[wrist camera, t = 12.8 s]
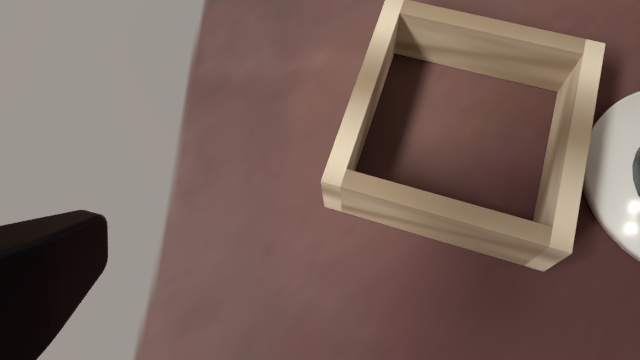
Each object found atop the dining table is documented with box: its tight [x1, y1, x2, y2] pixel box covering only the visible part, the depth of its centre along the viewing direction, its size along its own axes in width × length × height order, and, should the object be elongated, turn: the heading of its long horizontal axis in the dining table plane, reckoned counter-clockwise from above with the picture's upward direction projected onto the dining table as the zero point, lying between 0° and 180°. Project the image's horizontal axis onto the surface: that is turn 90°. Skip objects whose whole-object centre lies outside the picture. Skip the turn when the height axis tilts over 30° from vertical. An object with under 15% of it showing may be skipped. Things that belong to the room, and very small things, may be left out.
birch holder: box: [321, 0, 605, 272], centre depth 23 cm, size 10×10×3 cm
